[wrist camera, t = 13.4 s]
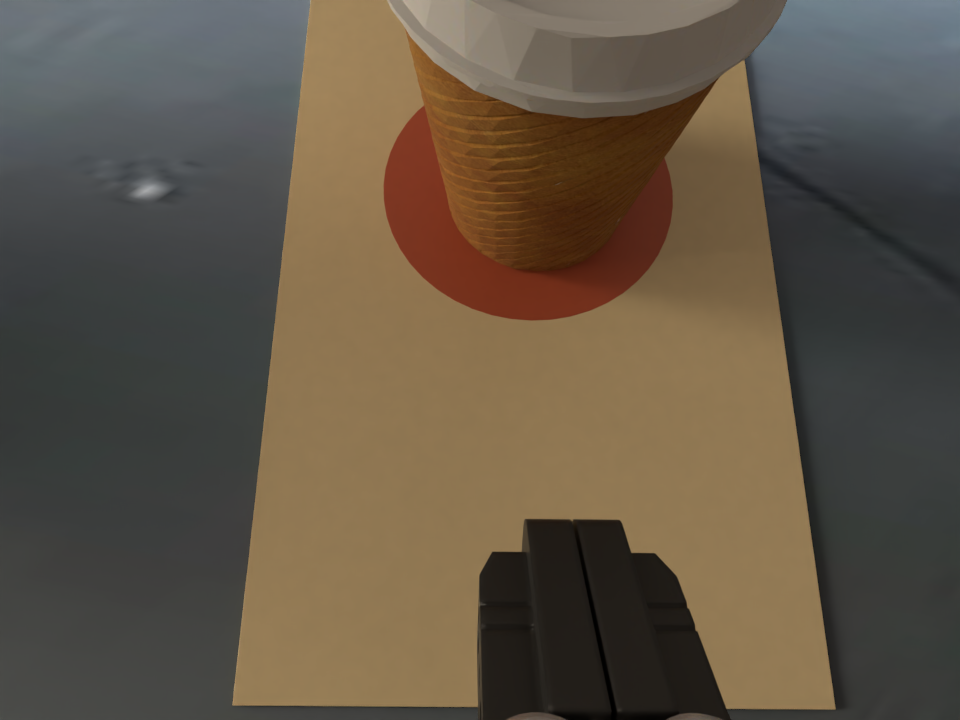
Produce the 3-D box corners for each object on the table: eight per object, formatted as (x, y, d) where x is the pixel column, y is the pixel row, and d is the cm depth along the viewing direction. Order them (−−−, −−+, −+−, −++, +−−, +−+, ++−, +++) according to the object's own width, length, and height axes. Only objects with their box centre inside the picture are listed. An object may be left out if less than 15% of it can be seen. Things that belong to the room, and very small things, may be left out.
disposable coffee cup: (704, 142, 28) (873, -195, 16) (609, 360, 25) (738, 131, 13) (471, 50, 29) (480, -324, 18) (353, 248, 26) (272, -51, 14)
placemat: (233, 705, 21) (232, 705, 21) (328, -152, 32) (327, -155, 32) (834, 709, 21) (836, 709, 21) (715, -139, 33) (716, -142, 33)
